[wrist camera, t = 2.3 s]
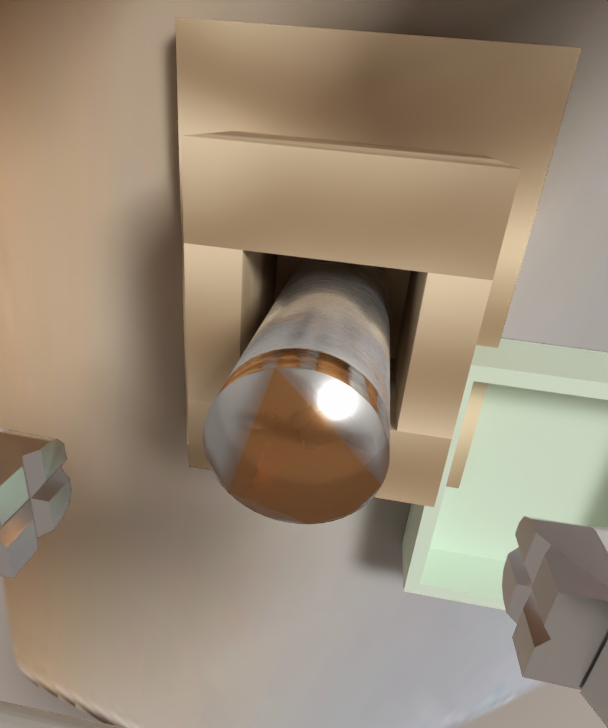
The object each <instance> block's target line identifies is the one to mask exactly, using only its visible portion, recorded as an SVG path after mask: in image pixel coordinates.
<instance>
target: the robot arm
mask: <svg viewBox="0 0 608 728" xmlns="http://www.w3.org/2000/svg"><path fill="white" fill-rule="evenodd" d="M66 459H67V457H66V452H65V446H64V443H62V442H61V441H59V440H58V439H55V438H49V437H44V436H39V435H33V434H28V433H23V432H17V431H12V430H4V429H0V576H4V577H11V578H13V577H14V576H15V575H16V574H17V573H18V572H19V570H20V569H21V568H22V567H23V566H24V564H25V563H26V562H27V561H28V560H29V558H30V557H31V556H32V555H33V554H34V553H35V551H36V550H37V549H38V537H39V536H42V535H44V534H46V533H48V532H50V531H52V530H54V529H55V527H56V526H57V525H58V523H59V522H60V521H61V520H62V518H63V517H64V514H65V512H66V510H67V507H68V505H69V503H70V495H71V485H70V478H69V477H68V476H67V475H66V474H65V472H64V471H63V470H62V469H61V466H62V465H63V463H64V462H65V461H66ZM515 536H516V539H517V543H518V546H519V547H518V548H516V549H515V550H513V551H512V552H510V553H509V554H508V555H507V559H506V562H505V565H504V569H503V579H502V592H503V600H504V605H505V609H506V613H507V614H508V615H509V616H510V617H511V618H512V619H513V620H514V621H515V622H516V623H517V626H516V629H515V631H514V634H513V637H512V638H513V642H514V646H515V649H516V653H517V657H518V661H519V665H520V669H521V673H522V677H525V678H530V679H534V680H539V681H543V682H548V683H552V684H557V685H562V686H566V687H571V688H575V689H580V690H581V692H580V693H581V694H582V695H583V697H584V698H585V699H586V700H587V702H588V703H589V704H590V705H591V707H592V708H593V710H594V711H595V712H596V713H597V715H598V716H599V717H600V718H601V720H602V721H603V722H604V724H605V725H606V726H607V727H608V528H605V527H598V526H591V525H587V526H584V525H578V524H572V523H565V522H559V521H553V520H547V519H540V518H534V517H528V516H524V517H523V518H522V519H521V521H520V522H519V524H518V527H517V530H516V532H515ZM0 728H122V727H117V726H113V725H108V724H104V723H99V722H95V721H90V720H85V719H81V718H76V717H72V716H67V715H63V714H58V713H53V712H49V711H44V710H40V709H36V708H31V707H27V706H22V705H17V704H13V703H8V702H3V701H0Z"/></svg>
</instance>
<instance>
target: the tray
mask: <svg viewBox="0 0 608 728" xmlns="http://www.w3.org/2000/svg"><path fill="white" fill-rule="evenodd" d="M474 381H476V382H483V383H488V386H487V389H486V393H485V396H484V400H483V403H482V407H481V411H480V414H479V418H478V421H477V425H476V428H475V432H474V436H473V439H472V443H471V446H470V450H469V453H468V457H467V461H466V464H465V468H464V471H463V475H462V478H461V482H460V486H459V488H453V487H447V486H446V484H447V480H448V476H449V473H450V469H451V465H452V461H453V457H454V454H455V450H456V446H457V442H458V439H459V435H460V431H461V427H462V424H463V420H464V416H465V412H466V408H467V405H468V401H469V397H470V393H471V390H472V386H473V382H474ZM524 516H528V517H534V518H540V519H547V520H553V521H559V522H565V523H572V524H578V525H584V526H587V525H591V526H598V527H605V528H608V352H600V351H592V350H585V349H577V348H570V347H562V346H555V345H547V344H539V343H532V342H524V341H517V340H509V339H500V343H499V346H498V348H495V347H487V346H480V345H476V347H475V351H474V355H473V359H472V363H471V367H470V371H469V374H468V378H467V382H466V386H465V390H464V394H463V398H462V402H461V405H460V409H459V413H458V417H457V421H456V425H455V429H454V433H453V436H452V440H451V444H450V448H449V452H448V456H447V460H446V464H445V467H444V471H443V475H442V479H441V483H440V487H439V491H438V495H437V499H436V502H435V506H434V507H430V506H424V505H418V504H412V503H411V507H410V511H409V516H408V520H407V524H406V529H405V533H404V537H403V542H402V557H403V591H404V592H410V593H415V594H420V595H426V596H431V597H437V598H442V599H448V600H453V601H459V602H464V603H470V604H475V605H481V606H486V607H491V608H497V609H502V610H506V609H505V605H504V600H503V592H502V579H503V569H504V565H505V562H506V559H507V555H508V554H509V553H510V552H512V551H513V550H515V549H516V548H518V547H519V546H518V543H517V539H516V536H515V532H516V530H517V527H518V524H519V522H520V521H521V519H522V518H523V517H524Z"/></svg>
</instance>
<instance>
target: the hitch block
mask: <svg viewBox="0 0 608 728" xmlns="http://www.w3.org/2000/svg"><path fill="white" fill-rule="evenodd" d="M175 24H176V61H177V98H178V136H179V173H180V210H181V247H182V285H183V322H184V359H185V396H186V433H187V445H189V467H194V468H201V469H207V470H211V468H210V466H209V463H208V461H207V458H206V455H205V451H204V445H203V427H204V423H205V418H206V415H207V413H208V410H209V408H210V406H211V405H212V403H213V401H214V400H215V398H216V396H217V395H218V393H219V392H220V390H221V388H222V387H223V385H224V384H225V382H226V380H227V379H228V377H229V375H230V374H231V372H232V371H233V369H234V367H235V366H236V364H237V363H238V361H239V359H240V358H241V356H242V354H243V353H244V351H245V350H246V348H247V346H248V345H249V343H250V342H251V340H252V338H253V337H254V335H255V333H256V332H257V330H258V329H259V327H260V325H261V324H262V322H263V320H264V319H265V317H266V316H267V314H268V312H269V311H270V309H271V308H272V306H273V304H274V303H275V301H276V299H277V298H278V296H279V295H280V293H281V291H282V290H283V288H284V287H285V285H286V283H287V282H288V280H289V278H290V277H291V275H292V274H293V272H294V270H295V269H296V267H297V265H298V264H299V262H300V261H301V260H302V258H312V259H320V260H328V261H337V262H345V263H353V264H361V265H370V266H378V267H384V268H385V270H386V272H387V276H388V279H389V284H390V461H389V468H388V471H387V475H386V478H385V480H384V482H383V484H382V486H381V488H380V489H379V491H378V492H377V494H376V495H375V496H374V497H375V498H381V499H387V500H393V501H399V502H405V503H412V504H418V505H424V506H430V507H434V506H435V502H436V499H437V495H438V491H439V487H440V483H441V479H442V475H443V471H444V467H445V464H446V460H447V456H448V452H449V448H450V444H451V440H452V436H453V433H454V429H455V425H456V421H457V417H458V413H459V409H460V405H461V402H462V398H463V394H464V390H465V386H466V382H467V378H468V374H469V371H470V367H471V363H472V359H473V355H474V351H475V347H476V345H480V346H487V347H495V348H498V346H499V343H500V339H501V336H502V332H503V329H504V325H505V321H506V318H507V314H508V311H509V307H510V304H511V300H512V296H513V293H514V289H515V286H516V282H517V279H518V275H519V271H520V268H521V264H522V261H523V257H524V254H525V250H526V246H527V243H528V239H529V236H530V232H531V229H532V225H533V221H534V218H535V214H536V211H537V207H538V204H539V200H540V196H541V193H542V189H543V186H544V182H545V179H546V175H547V172H548V168H549V164H550V161H551V157H552V154H553V150H554V147H555V143H556V139H557V136H558V132H559V129H560V125H561V122H562V118H563V114H564V111H565V107H566V104H567V100H568V97H569V93H570V89H571V86H572V82H573V79H574V75H575V72H576V68H577V64H578V61H579V57H580V54H581V50H582V48H577V47H564V46H551V45H538V44H524V43H511V42H498V41H485V40H471V39H458V38H445V37H432V36H419V35H405V34H392V33H379V32H366V31H352V30H339V29H326V28H313V27H300V26H286V25H273V24H260V23H247V22H233V21H220V20H207V19H194V18H181V17H175ZM487 386H488V383H483V382H476V381H474V382H473V386H472V390H471V393H470V397H469V401H468V405H467V408H466V412H465V416H464V420H463V424H462V427H461V431H460V435H459V439H458V442H457V446H456V450H455V454H454V457H453V461H452V465H451V469H450V473H449V476H448V480H447V484H446V486H447V487H453V488H459V486H460V482H461V478H462V475H463V471H464V468H465V464H466V461H467V457H468V453H469V450H470V446H471V443H472V439H473V436H474V432H475V428H476V425H477V421H478V418H479V414H480V411H481V407H482V403H483V400H484V396H485V393H486V389H487Z"/></svg>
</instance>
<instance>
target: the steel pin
mask: <svg viewBox="0 0 608 728" xmlns="http://www.w3.org/2000/svg"><path fill="white" fill-rule="evenodd" d="M203 445H204V451H205V455H206V458H207V461H208V463H209V466H210V468H211V470H212V472H213V474H214V475H215V477H216V478H217V480H218V481H219V482H220V484H221V485H222V486H223V487H224V488H225V489H226V491H227V492H228V493H229V494H231V495H232V496H233V497H234V498H235V499H236V500H238V501H239V502H240V503H242V504H243V505H245V506H246V507H248V508H250V509H251V510H253V511H255V512H257V513H259V514H262V515H264V516H266V517H269V518H272V519H275V520H279V521H283V522H288V523H296V524H318V523H325V522H330V521H334V520H337V519H341V518H343V517H346V516H348V515H350V514H352V513H354V512H356V511H357V510H359V509H361V508H362V507H363V506H364V505H366V504H367V503H368V502H369V501H370V500H371V499H372V498H373V497H374V496H375V495H376V494H377V492H378V491H379V489H380V488H381V486H382V484H383V482H384V480H385V478H386V475H387V471H388V468H389V461H390V284H389V279H388V276H387V272H386V270H385V268H384V267H378V266H370V265H361V264H353V263H345V262H337V261H328V260H320V259H312V258H302V260H301V261H300V262H299V264H298V265H297V267H296V269H295V270H294V272H293V274H292V275H291V277H290V278H289V280H288V282H287V283H286V285H285V287H284V288H283V290H282V291H281V293H280V295H279V296H278V298H277V299H276V301H275V303H274V304H273V306H272V308H271V309H270V311H269V312H268V314H267V316H266V317H265V319H264V320H263V322H262V324H261V325H260V327H259V329H258V330H257V332H256V333H255V335H254V337H253V338H252V340H251V342H250V343H249V345H248V346H247V348H246V350H245V351H244V353H243V354H242V356H241V358H240V359H239V361H238V363H237V364H236V366H235V367H234V369H233V371H232V372H231V374H230V375H229V377H228V379H227V380H226V382H225V384H224V385H223V387H222V388H221V390H220V392H219V393H218V395H217V396H216V398H215V400H214V401H213V403H212V405H211V406H210V408H209V410H208V413H207V415H206V418H205V423H204V427H203Z"/></svg>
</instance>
